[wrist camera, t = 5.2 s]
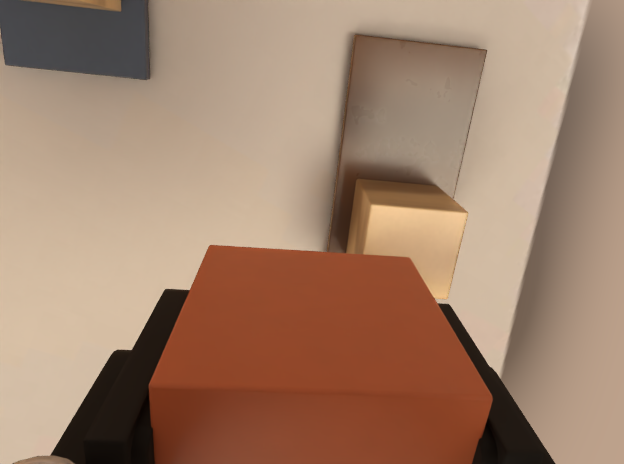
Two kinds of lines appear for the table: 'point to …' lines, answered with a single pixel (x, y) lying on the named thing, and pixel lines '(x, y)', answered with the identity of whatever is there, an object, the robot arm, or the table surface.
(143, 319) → the table surface
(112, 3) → the tan wooden cube
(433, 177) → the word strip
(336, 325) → the orange cube
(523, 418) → the robot arm
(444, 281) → the light wood cube
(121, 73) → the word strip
